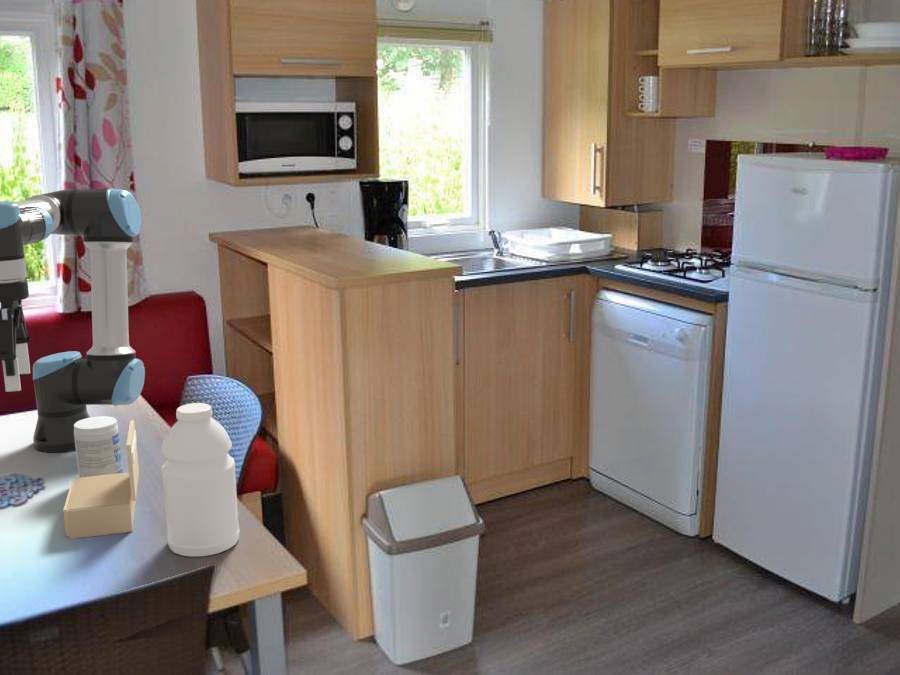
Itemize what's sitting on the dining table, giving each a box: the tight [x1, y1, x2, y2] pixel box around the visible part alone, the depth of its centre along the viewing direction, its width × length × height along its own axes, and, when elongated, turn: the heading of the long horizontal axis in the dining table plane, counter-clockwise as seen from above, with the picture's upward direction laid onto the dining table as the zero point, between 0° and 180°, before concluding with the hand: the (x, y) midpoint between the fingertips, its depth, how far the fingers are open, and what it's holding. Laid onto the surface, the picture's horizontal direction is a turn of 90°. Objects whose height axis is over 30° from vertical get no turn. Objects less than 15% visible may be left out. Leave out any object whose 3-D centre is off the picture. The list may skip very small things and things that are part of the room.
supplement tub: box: [74, 415, 124, 478], centre depth 216 cm, size 10×10×15 cm
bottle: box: [161, 402, 241, 558], centre depth 184 cm, size 14×14×28 cm
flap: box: [125, 419, 140, 502], centre depth 198 cm, size 16×1×12 cm, turn 16°
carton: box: [62, 471, 137, 540], centre depth 198 cm, size 18×13×6 cm
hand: (18, 382), depth 194 cm, fingers open, 13 cm apart
